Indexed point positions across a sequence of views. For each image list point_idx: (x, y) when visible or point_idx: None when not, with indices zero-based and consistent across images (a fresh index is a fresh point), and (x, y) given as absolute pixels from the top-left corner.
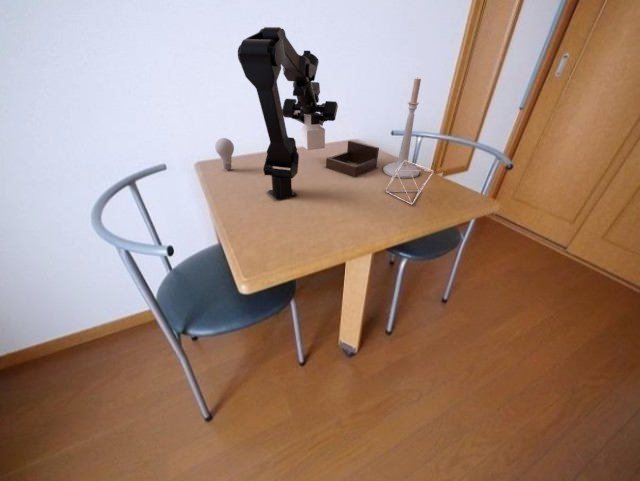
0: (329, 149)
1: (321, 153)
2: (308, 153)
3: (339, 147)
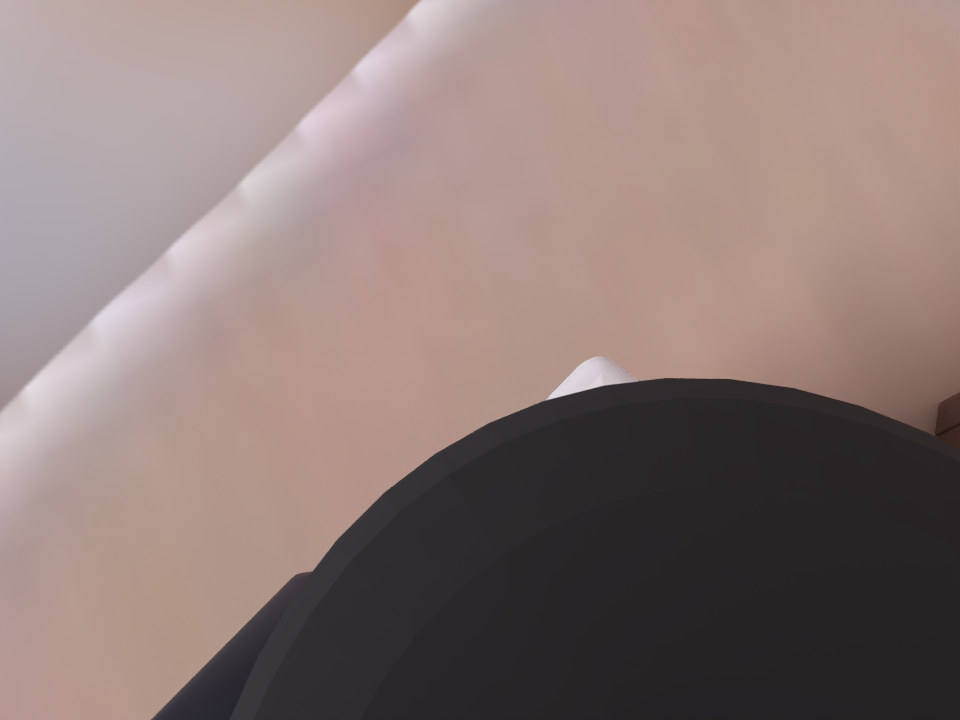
0: (554, 172)
1: (536, 333)
2: (397, 402)
3: (618, 73)
